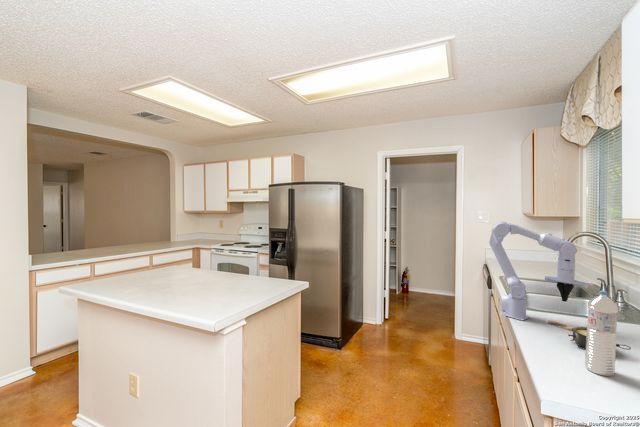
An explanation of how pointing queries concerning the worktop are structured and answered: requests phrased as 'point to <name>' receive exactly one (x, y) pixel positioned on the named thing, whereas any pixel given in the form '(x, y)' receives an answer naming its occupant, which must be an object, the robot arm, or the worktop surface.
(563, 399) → the worktop surface
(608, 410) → the worktop surface
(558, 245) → the robot arm
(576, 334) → the alarm clock
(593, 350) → the water bottle
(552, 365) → the worktop surface
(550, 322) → the turner
